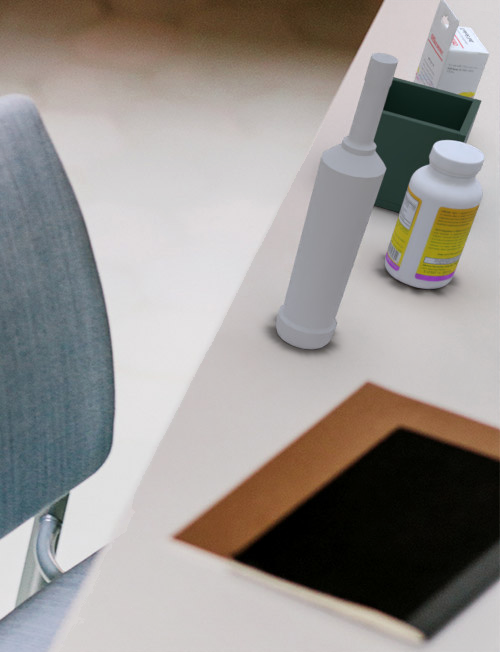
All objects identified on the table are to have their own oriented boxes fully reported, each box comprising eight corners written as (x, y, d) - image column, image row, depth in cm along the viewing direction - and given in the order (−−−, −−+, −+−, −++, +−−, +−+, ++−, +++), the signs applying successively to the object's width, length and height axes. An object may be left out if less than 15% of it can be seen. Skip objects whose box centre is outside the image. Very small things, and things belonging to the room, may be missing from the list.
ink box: (457, 152, 139) (502, 27, 129) (415, 148, 138) (457, 21, 129) (440, 121, 145) (481, -1, 136) (400, 116, 145) (439, -6, 136)
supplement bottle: (462, 276, 116) (509, 155, 108) (430, 299, 112) (476, 175, 104) (402, 248, 119) (443, 128, 111) (369, 269, 115) (409, 147, 107)
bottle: (285, 351, 103) (367, 71, 87) (265, 318, 106) (339, 43, 90) (340, 350, 104) (431, 73, 88) (319, 316, 108) (401, 45, 92)
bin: (451, 184, 132) (481, 100, 126) (435, 223, 124) (466, 135, 118) (358, 157, 135) (383, 74, 128) (337, 194, 127) (362, 107, 121)
